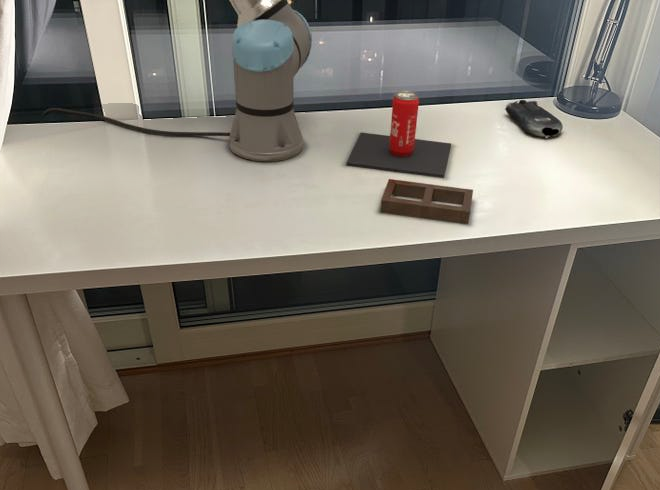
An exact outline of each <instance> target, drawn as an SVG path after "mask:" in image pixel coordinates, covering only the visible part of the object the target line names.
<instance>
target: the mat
mask: <svg viewBox="0 0 660 490" xmlns="http://www.w3.org/2000/svg"><path fill="white" fill-rule="evenodd" d="M389 142H390V135H385V134H376V133H371V132H370V133H369V132H362V131H361V132H360V133H359V135H358V138H357V139H356V142H355V143H354V146H353V148H352V150H351V152H350V154H349V156H348V158H347V161H346V163H345V166H347V167H357V168H365V169H373V170H380V171H388V172H396V173H403V174H412V175H419V176H427V177H434V178H443V179H444V178H445V176H446V175H445V174H446V170H447V165H448V161H449V157H450V153H451V152H450V151H451V148H452V143H450V142H443V141H435V140H427V139H419V138H418V139H417V138H415V143H414V150H413V151H412V153H411V155H410V156H408V157H397V156H394V155H392V154H391V151H390V148H389Z"/></svg>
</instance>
